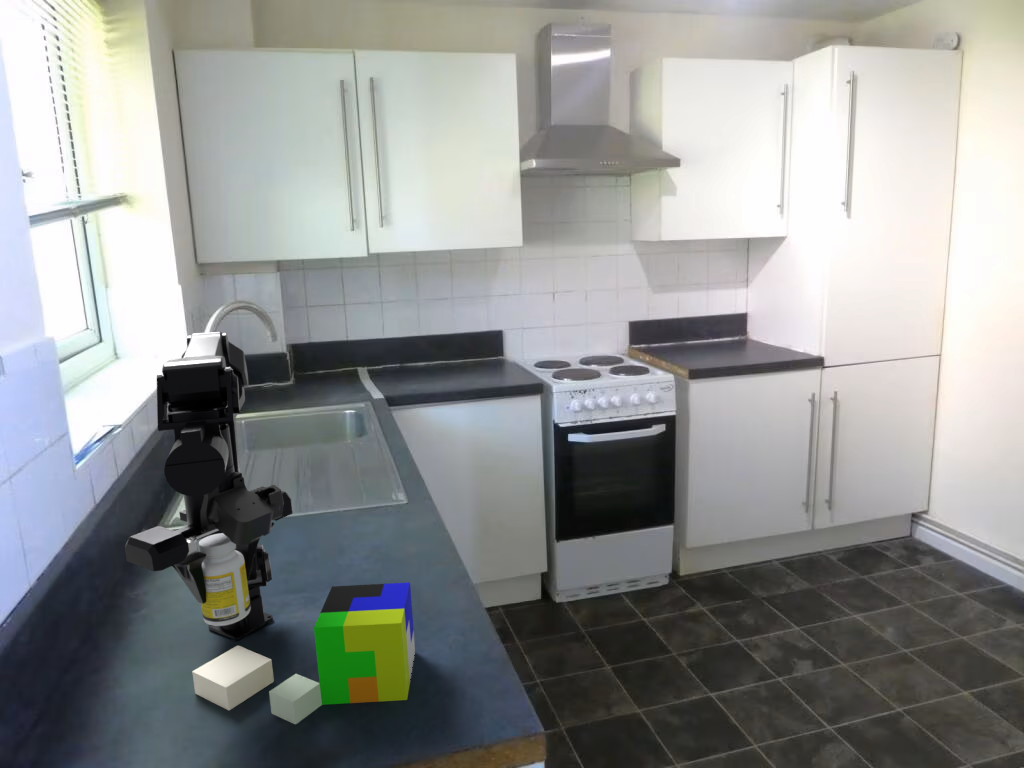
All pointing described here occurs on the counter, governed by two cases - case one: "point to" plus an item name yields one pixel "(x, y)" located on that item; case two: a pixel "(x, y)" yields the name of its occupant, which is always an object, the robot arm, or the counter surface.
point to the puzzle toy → (365, 643)
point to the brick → (295, 698)
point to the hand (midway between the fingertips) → (223, 592)
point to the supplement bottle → (223, 581)
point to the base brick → (233, 677)
